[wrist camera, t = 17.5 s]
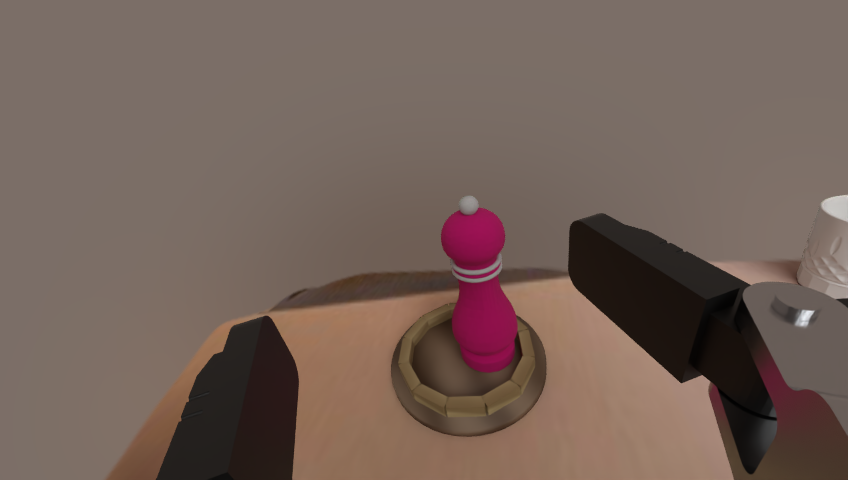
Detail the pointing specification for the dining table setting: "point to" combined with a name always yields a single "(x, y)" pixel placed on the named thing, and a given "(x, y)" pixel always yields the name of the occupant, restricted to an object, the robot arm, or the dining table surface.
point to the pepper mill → (479, 287)
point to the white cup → (827, 250)
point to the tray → (464, 379)
